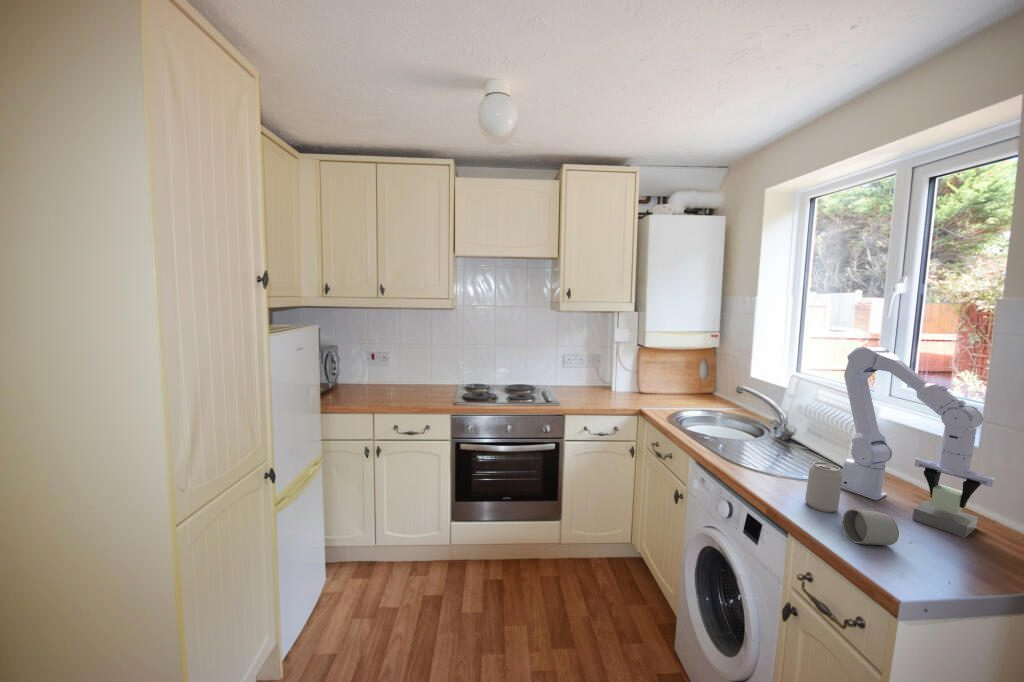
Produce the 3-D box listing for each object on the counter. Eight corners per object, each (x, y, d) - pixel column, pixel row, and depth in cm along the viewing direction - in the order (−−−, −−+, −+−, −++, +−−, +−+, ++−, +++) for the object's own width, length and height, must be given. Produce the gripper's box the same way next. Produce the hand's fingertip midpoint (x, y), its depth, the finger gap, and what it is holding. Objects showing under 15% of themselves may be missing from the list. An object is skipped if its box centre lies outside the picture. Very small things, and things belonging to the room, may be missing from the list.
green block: (930, 505, 114) (933, 487, 114) (936, 501, 117) (939, 484, 116) (956, 514, 110) (959, 495, 110) (962, 510, 113) (965, 491, 112)
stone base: (912, 518, 116) (914, 508, 115) (924, 510, 121) (926, 500, 121) (964, 537, 107) (967, 526, 107) (975, 528, 113) (977, 517, 112)
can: (798, 502, 122) (804, 461, 120) (815, 499, 125) (821, 458, 123) (826, 515, 115) (833, 472, 113) (844, 511, 118) (850, 469, 116)
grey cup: (899, 552, 99) (904, 520, 98) (864, 550, 99) (869, 518, 98) (862, 528, 110) (866, 498, 109) (830, 526, 110) (834, 497, 109)
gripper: (914, 445, 116) (906, 493, 117) (993, 464, 104) (983, 518, 105) (922, 441, 120) (915, 488, 121) (1000, 460, 108) (990, 512, 109)
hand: (947, 502), depth 114 cm, fingers closed on green block, 5 cm apart
